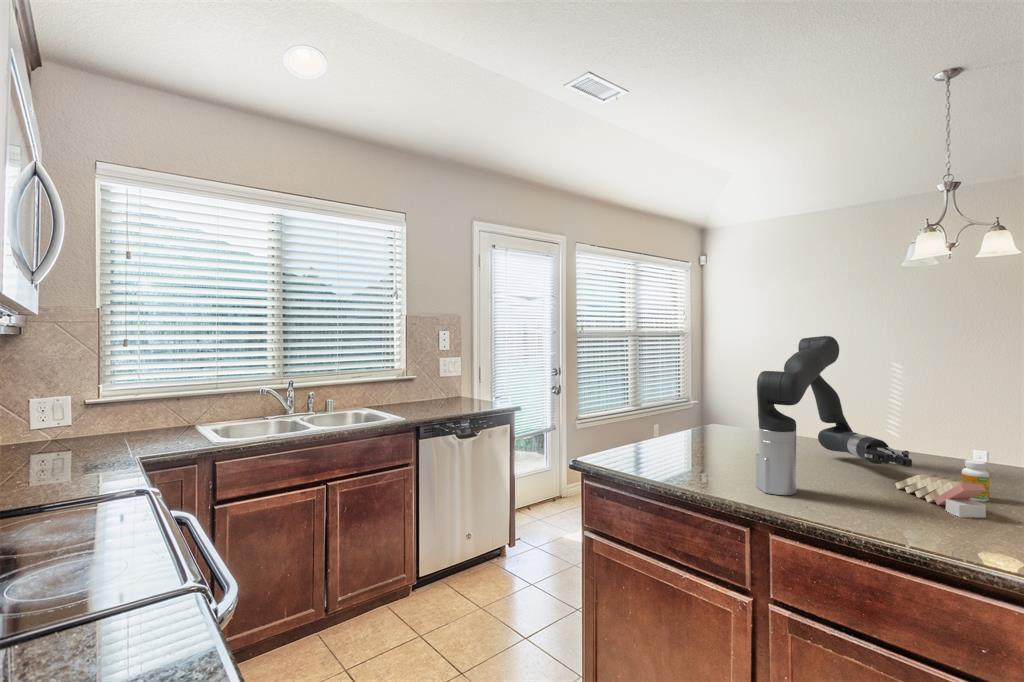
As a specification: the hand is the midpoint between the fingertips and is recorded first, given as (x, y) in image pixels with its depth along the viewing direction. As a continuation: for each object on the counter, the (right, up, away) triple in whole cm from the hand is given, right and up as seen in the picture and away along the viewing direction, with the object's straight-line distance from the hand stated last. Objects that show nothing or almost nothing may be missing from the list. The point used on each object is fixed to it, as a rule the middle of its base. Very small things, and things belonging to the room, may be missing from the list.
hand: (909, 463), depth 139 cm
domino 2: (0, -7, -2) cm, 7 cm away
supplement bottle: (+12, -8, -7) cm, 16 cm away
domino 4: (0, -7, -9) cm, 12 cm away
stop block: (-1, -8, -18) cm, 20 cm away
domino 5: (0, -7, -12) cm, 14 cm away
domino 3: (0, -7, -6) cm, 9 cm away
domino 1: (0, -7, +1) cm, 7 cm away
